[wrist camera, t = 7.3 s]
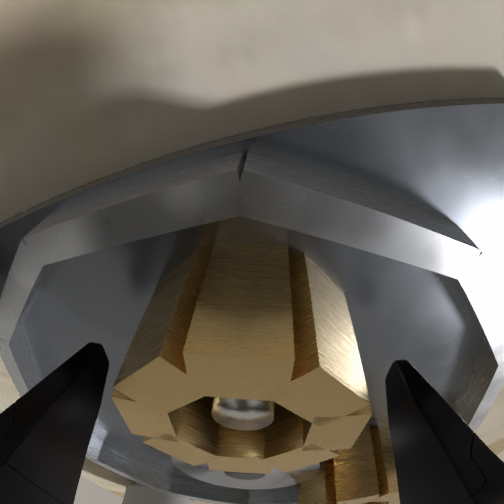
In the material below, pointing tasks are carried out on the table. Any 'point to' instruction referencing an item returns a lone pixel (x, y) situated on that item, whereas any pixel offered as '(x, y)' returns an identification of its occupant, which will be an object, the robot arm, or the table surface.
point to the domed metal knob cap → (247, 476)
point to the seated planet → (356, 474)
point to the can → (151, 496)
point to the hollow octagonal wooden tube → (245, 362)
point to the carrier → (298, 241)
